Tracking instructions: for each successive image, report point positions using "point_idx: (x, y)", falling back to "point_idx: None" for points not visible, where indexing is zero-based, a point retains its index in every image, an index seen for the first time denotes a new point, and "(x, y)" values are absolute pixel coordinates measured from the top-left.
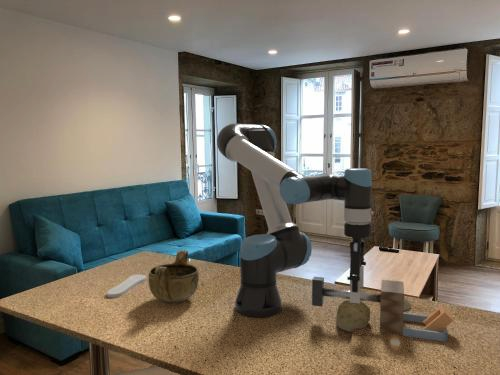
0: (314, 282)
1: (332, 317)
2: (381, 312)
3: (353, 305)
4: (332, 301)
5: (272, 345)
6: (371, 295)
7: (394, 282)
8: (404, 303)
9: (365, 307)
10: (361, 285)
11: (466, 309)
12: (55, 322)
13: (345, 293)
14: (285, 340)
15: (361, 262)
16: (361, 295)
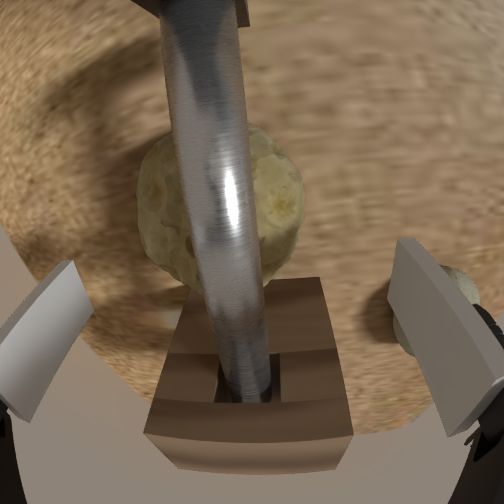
0: None
1: (289, 82)
2: (171, 351)
3: (168, 240)
4: (460, 76)
5: (8, 28)
6: (224, 359)
7: (316, 461)
8: (411, 352)
9: (200, 292)
10: (393, 296)
11: (422, 405)
12: None
13: (185, 202)
14: (34, 31)
15: (471, 464)
16: (208, 311)
